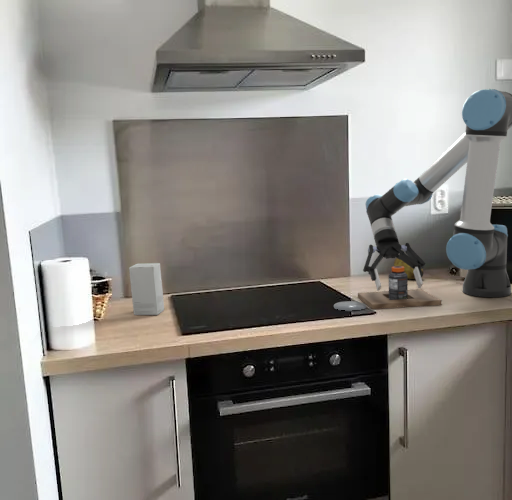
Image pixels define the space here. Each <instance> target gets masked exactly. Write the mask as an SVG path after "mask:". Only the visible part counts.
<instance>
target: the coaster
mask: <svg viewBox="0 0 512 500" xmlns="http://www.w3.org/2000/svg"><path fill="white" fill-rule="evenodd" d="M333 309H335V310H337V309H338V310H337V311H341V310H345V311H344V312H353V311H352V310H360V311H362V310H361V309H364V310H365V309H367V304H366V303H364V302H360V301H350V300H349V301H347V300H345V301H339V302H336V303H334V304H333Z"/></svg>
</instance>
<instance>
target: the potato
mask: <svg viewBox="0 0 512 500" xmlns="http://www.w3.org/2000/svg"><path fill="white" fill-rule="evenodd" d="M393 266H403V267H404V272H405V273H406V274H407V277H408V280H416V279H415V276H414V272H413V271H414V269H413V268H412V267H410V266H409V265H407V264H406V263H405V262H403V261H402V260H399V259H398V258H396V257H395V258H394V261H393ZM421 271H422V274H423V275H424V268H423V269H421Z"/></svg>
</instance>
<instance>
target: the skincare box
mask: <svg viewBox="0 0 512 500" xmlns="http://www.w3.org/2000/svg"><path fill="white" fill-rule="evenodd" d="M128 271H129V281H130V290H131V299H132V309H133V315H134V316H157V315H160V314H161V313H162V312H163V311H165V303H164V302H165V301H164V292H163V281H162V271H161V263H160V262H151V263H150V262H149V263H148V262H147V263H136V264H134V265H131V266H130V267H128Z"/></svg>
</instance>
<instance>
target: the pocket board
mask: <svg viewBox="0 0 512 500" xmlns="http://www.w3.org/2000/svg"><path fill="white" fill-rule="evenodd" d="M357 298H358V299H360V300H361V301H362V303H364V304H366V306H368V307H370V309H371V310H379V309H383V310H384V309H396V308H398V309H399V308H409V307H410V308H412V307H414V308H415V307H426V306H427V307H428V306H429V307H431V306H441V305H442V299H440V298H438V297H437V296H434V295H433V294H431V293H429V292H428V291H426V290H424V289H421V288H417V289H416V288H415V289H408V299H399V300H389V290H384V291H370V292H367V291H366V292H365V291H364V292H358V293H357Z"/></svg>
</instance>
